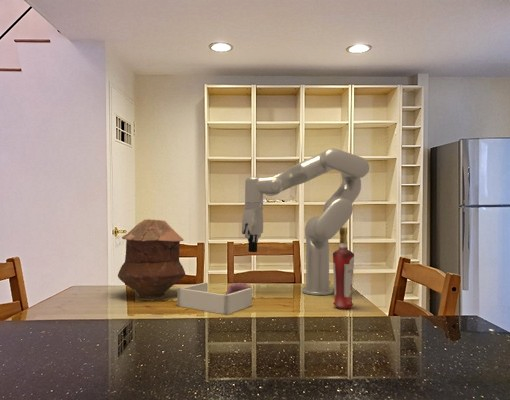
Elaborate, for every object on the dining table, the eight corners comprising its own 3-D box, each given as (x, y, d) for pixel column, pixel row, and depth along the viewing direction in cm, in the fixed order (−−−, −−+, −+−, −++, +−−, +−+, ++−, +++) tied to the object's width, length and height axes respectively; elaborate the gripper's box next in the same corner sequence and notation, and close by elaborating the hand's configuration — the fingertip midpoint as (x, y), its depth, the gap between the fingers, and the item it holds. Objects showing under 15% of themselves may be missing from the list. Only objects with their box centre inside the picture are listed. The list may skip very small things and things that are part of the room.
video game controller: (251, 303, 149) (254, 285, 152) (248, 300, 145) (251, 281, 149) (227, 301, 152) (231, 283, 156) (223, 297, 149) (227, 280, 152)
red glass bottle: (337, 304, 141) (337, 227, 142) (357, 307, 137) (357, 227, 138) (329, 308, 135) (329, 227, 137) (349, 311, 131) (349, 228, 132)
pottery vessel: (102, 298, 148) (104, 219, 149) (145, 286, 172) (146, 218, 173) (159, 304, 138) (160, 220, 139) (196, 291, 162) (197, 219, 163)
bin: (204, 298, 150) (205, 282, 150) (251, 305, 138) (252, 288, 139) (177, 305, 137) (177, 288, 137) (226, 314, 126) (227, 295, 126)
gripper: (255, 207, 169) (254, 250, 168) (236, 206, 156) (234, 252, 156) (270, 207, 165) (269, 251, 164) (251, 206, 152) (250, 253, 152)
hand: (252, 251), depth 160 cm, fingers closed
